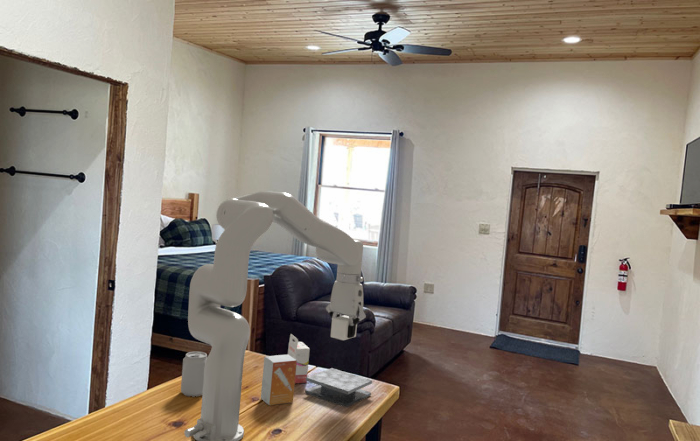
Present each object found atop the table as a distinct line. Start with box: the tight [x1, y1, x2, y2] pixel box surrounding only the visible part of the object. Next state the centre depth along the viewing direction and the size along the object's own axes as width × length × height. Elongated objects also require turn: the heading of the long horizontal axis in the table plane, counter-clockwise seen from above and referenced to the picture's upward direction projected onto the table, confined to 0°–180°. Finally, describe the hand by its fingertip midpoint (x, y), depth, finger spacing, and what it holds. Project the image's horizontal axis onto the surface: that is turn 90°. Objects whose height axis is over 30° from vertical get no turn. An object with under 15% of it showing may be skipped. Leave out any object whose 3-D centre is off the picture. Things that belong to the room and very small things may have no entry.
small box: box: [260, 353, 297, 406], centre depth 164 cm, size 8×6×13 cm
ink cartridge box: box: [287, 333, 311, 384], centre depth 185 cm, size 9×5×15 cm, turn 25°
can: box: [180, 351, 208, 398], centre depth 164 cm, size 8×8×12 cm
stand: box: [304, 367, 373, 408], centre depth 174 cm, size 14×16×5 cm
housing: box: [330, 314, 358, 341], centre depth 173 cm, size 5×7×6 cm
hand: (343, 334), depth 173 cm, fingers closed on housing, 5 cm apart
